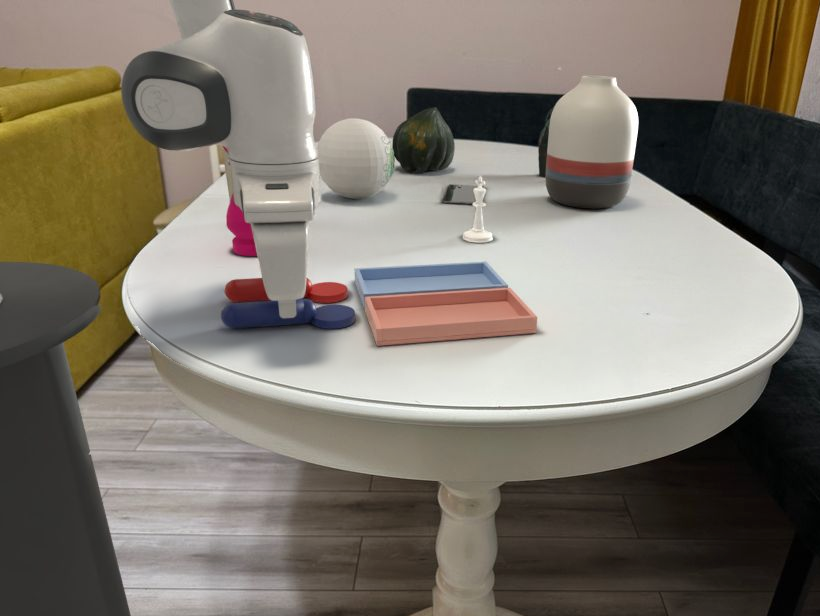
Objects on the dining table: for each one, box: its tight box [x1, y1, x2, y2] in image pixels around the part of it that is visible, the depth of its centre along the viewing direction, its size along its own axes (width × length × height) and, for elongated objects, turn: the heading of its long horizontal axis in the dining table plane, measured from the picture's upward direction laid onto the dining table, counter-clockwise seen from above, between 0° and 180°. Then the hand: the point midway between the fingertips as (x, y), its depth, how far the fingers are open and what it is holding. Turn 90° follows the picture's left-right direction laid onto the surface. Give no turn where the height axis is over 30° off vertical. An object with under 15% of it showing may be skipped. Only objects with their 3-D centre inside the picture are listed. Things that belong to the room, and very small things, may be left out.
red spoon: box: [224, 277, 349, 304], centre depth 83 cm, size 15×5×3 cm, turn 105°
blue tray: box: [353, 261, 509, 311], centre depth 87 cm, size 18×10×2 cm, turn 105°
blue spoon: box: [220, 298, 356, 330], centre depth 76 cm, size 15×5×3 cm, turn 105°
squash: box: [391, 107, 456, 173], centre depth 159 cm, size 14×15×15 cm
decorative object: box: [316, 117, 396, 200], centre depth 130 cm, size 15×15×15 cm
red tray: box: [364, 287, 538, 347], centre depth 78 cm, size 18×10×2 cm, turn 105°
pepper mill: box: [222, 146, 258, 257], centre depth 97 cm, size 7×7×20 cm
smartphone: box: [442, 183, 485, 205], centre depth 139 cm, size 8×1×16 cm
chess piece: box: [462, 176, 494, 244], centre depth 108 cm, size 5×5×10 cm
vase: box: [545, 75, 639, 210], centre depth 132 cm, size 17×17×24 cm
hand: (287, 309), depth 76 cm, fingers closed on blue spoon, 3 cm apart
